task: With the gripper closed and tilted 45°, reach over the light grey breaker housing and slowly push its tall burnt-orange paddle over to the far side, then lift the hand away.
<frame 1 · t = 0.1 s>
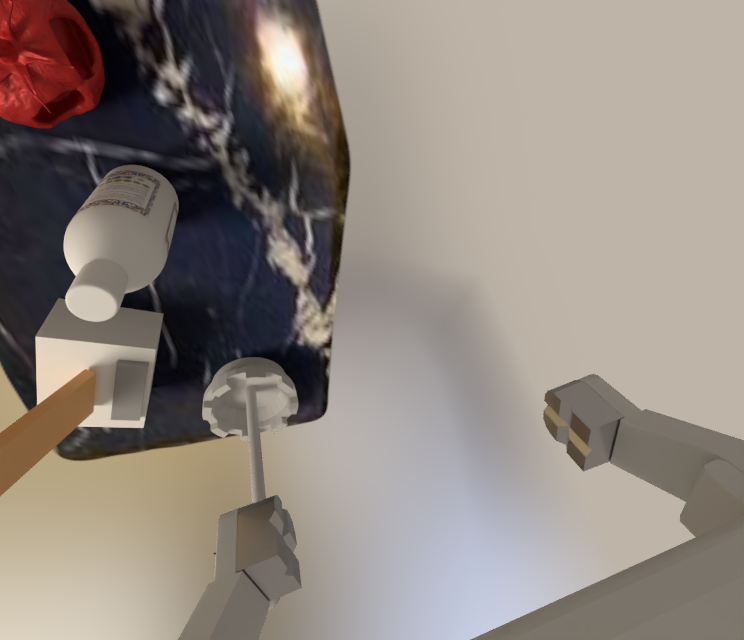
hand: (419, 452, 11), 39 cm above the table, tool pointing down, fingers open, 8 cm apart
flag stand: (250, 383, 59), on the table
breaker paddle: (34, 437, 37), point 14 cm above the table, hinge at -25.0°
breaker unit: (107, 348, 49), on the table
bath foam: (142, 197, 40), on the table
pomegranate: (42, 49, 32), on the table
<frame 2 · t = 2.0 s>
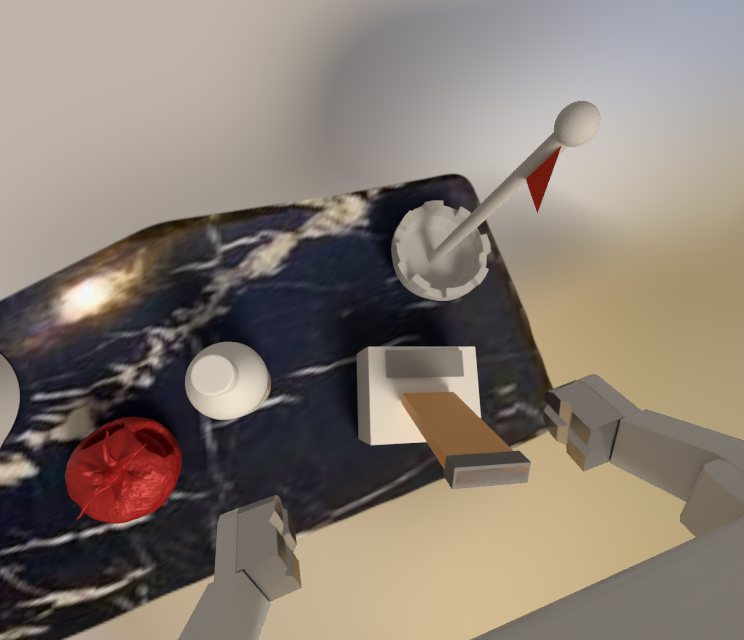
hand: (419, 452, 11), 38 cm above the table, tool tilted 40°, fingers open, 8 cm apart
flag stand: (429, 261, 55), on the table
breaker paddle: (454, 429, 36), point 14 cm above the table, hinge at -25.0°
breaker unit: (406, 395, 50), on the table
bath foam: (241, 385, 46), on the table
pomegranate: (140, 462, 42), on the table
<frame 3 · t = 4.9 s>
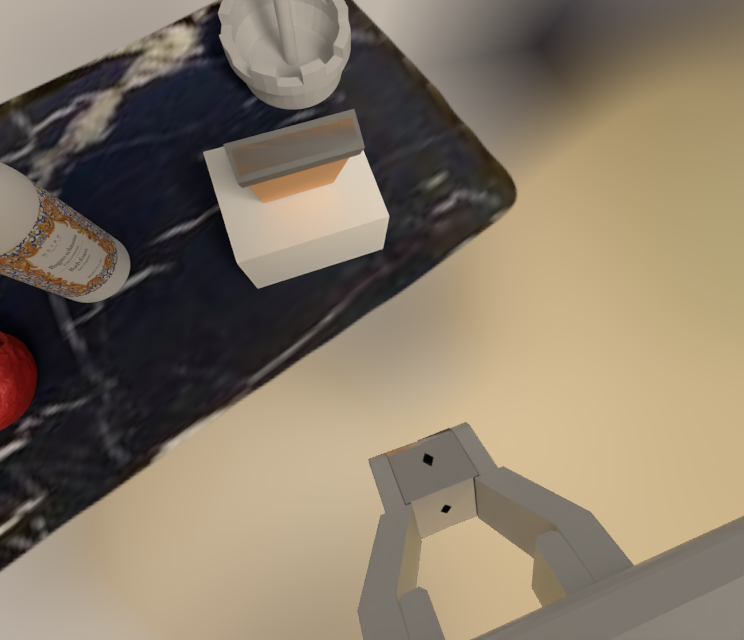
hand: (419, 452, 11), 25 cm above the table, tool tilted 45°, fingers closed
flag stand: (292, 68, 44), on the table
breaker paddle: (296, 171, 25), point 14 cm above the table, hinge at -25.0°
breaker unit: (306, 224, 39), on the table
bath foam: (97, 270, 38), on the table
pomegranate: (0, 385, 35), on the table
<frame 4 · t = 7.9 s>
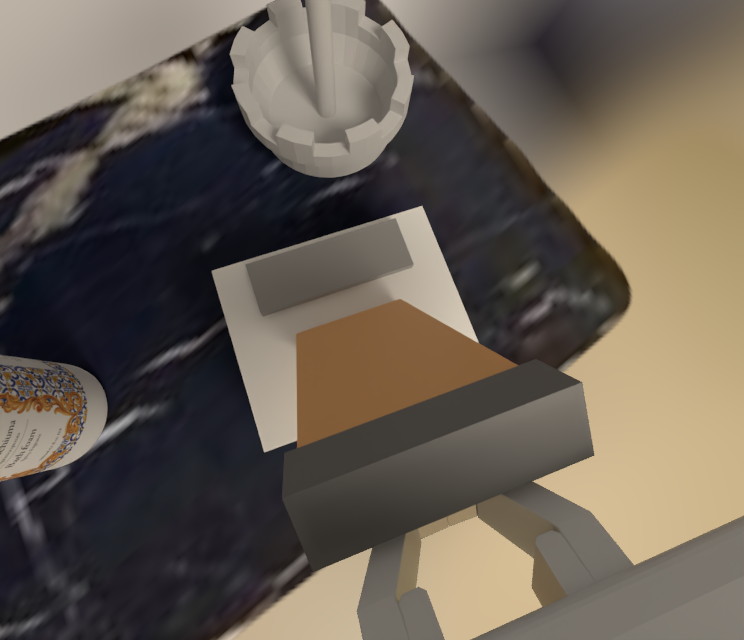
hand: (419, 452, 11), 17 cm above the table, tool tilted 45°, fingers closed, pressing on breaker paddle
flag stand: (327, 120, 33), on the table
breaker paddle: (378, 366, 15), point 14 cm above the table, hinge at -24.8°, touching gripper
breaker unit: (350, 342, 29), on the table
bath foam: (61, 414, 27), on the table
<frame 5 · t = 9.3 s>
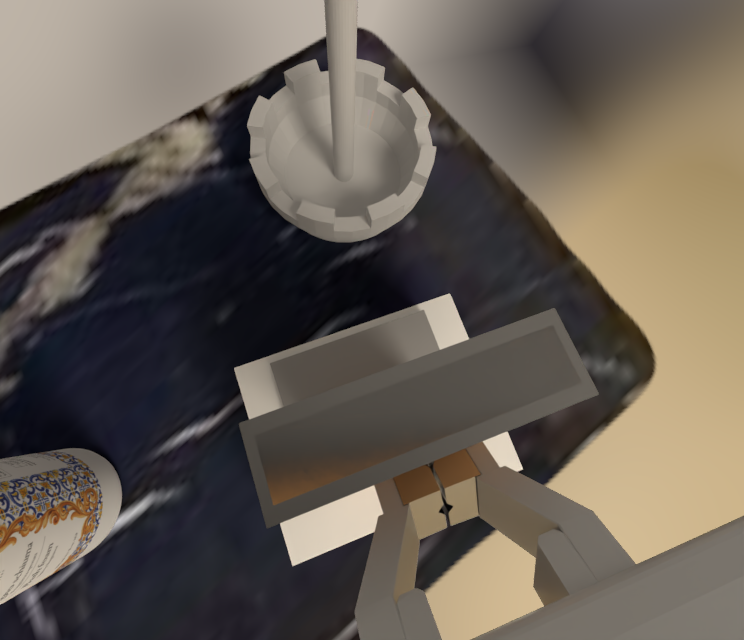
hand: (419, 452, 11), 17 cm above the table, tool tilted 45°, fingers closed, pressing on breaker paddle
flag stand: (343, 181, 32), on the table
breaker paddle: (391, 419, 14), point 15 cm above the table, hinge at 4.2°, touching gripper
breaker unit: (371, 417, 28), on the table
bath foam: (73, 500, 26), on the table
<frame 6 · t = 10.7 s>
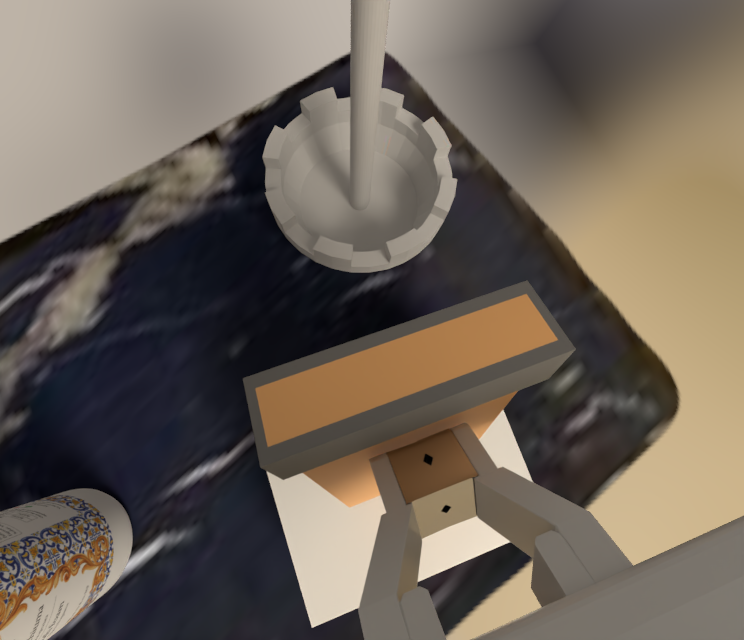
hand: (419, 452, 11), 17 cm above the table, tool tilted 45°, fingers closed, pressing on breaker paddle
flag stand: (358, 208, 31), on the table
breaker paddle: (403, 442, 14), point 14 cm above the table, hinge at 19.3°, touching gripper
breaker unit: (388, 456, 27), on the table
bath foam: (83, 542, 25), on the table
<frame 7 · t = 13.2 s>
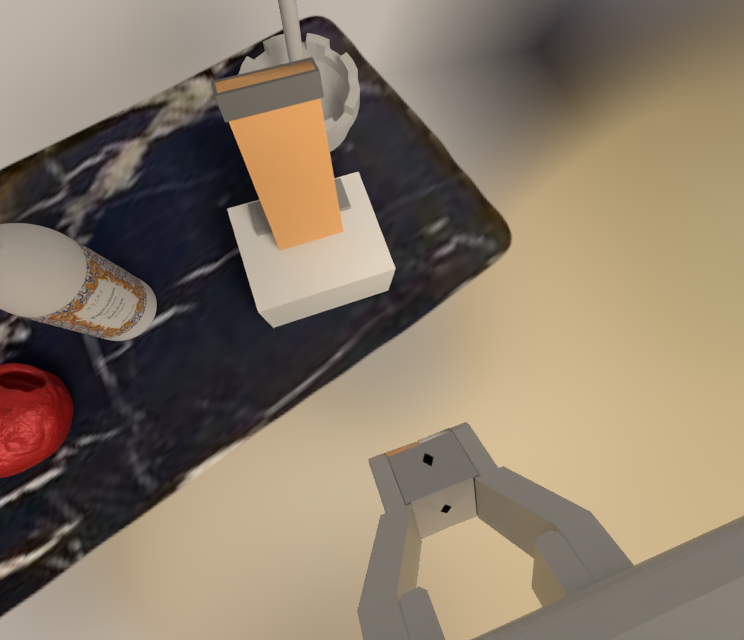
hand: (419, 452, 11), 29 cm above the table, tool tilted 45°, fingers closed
flag stand: (305, 119, 47), on the table
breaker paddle: (292, 172, 29), point 14 cm above the table, hinge at 19.4°
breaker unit: (317, 267, 43), on the table
bath foam: (126, 309, 41), on the table
pomegranate: (38, 417, 38), on the table
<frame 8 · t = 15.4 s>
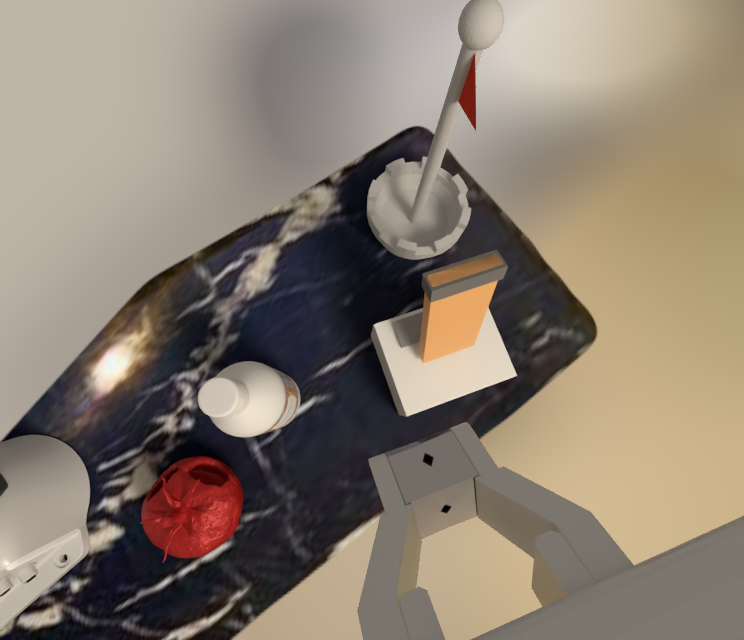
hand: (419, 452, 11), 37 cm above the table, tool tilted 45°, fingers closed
flag stand: (412, 222, 54), on the table
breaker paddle: (454, 316, 36), point 14 cm above the table, hinge at 19.4°
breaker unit: (432, 359, 49), on the table
bath foam: (272, 400, 48), on the table
pomegranate: (207, 497, 45), on the table
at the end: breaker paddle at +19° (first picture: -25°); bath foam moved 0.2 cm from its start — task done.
